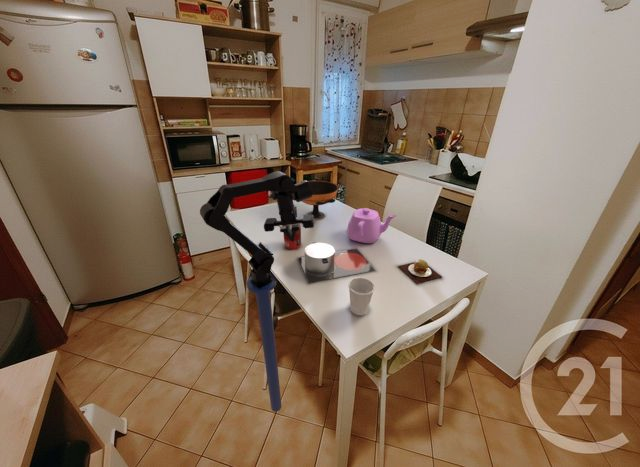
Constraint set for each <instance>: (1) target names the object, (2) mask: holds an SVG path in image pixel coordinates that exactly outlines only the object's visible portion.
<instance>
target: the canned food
mask: <svg viewBox="0 0 640 467" xmlns="http://www.w3.org/2000/svg"><path fill="white" fill-rule="evenodd" d="M291 229H292V225H290V230H291ZM283 243H284V244H283V245H284V247H285V248H286V249H287V250H291V251H293V250H298V249H300V248H301V246H302V224H300V228H299V230H298V231H296V234H295V239H294V242H292V241H291V240H290V239H289V238H288V237H287V236H286V235H285V234H284V233H283Z"/></svg>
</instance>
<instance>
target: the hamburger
mask: <svg viewBox="0 0 640 467" xmlns="http://www.w3.org/2000/svg"><path fill="white" fill-rule="evenodd" d="M397 267H398V269H400V271H402V272H403V273H404V275H406V276H407V277H408V278H409V279H410V280H411V281H413V282H414V283H415V284H416V285H418V284H423V283H426V282H430V281H435V280H438V279H441V278H443V276H442V275H441V274H440V273H439V272H437V271H436V270H434V269H433V268H432V267H431V266H429V264H428V262H427V261H426V260H423V259H417V260H415V261H414V262H411V263H405V264H401V265H398V266H397Z"/></svg>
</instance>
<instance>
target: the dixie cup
mask: <svg viewBox="0 0 640 467" xmlns="http://www.w3.org/2000/svg"><path fill="white" fill-rule="evenodd" d="M347 286H348V292H349V304H350V311H351V312H352V313H353V314H354V315H356V316H364V315H366V314H367V313H368V310H369V308H370V305H371V301H372V298H373V294H374V292H375V289H376V286H375V284H374V282H373V281H371V280H370V279H368V278H365V277H355V278H353V279H351V280H350V281H348V285H347Z"/></svg>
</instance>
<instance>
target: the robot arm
mask: <svg viewBox="0 0 640 467" xmlns="http://www.w3.org/2000/svg"><path fill="white" fill-rule="evenodd" d="M301 181H302V182H301ZM301 181H300V182H297V183H295V184H294V183H293V181H292V178H291V176H290V175H288V174H286V173H284V172H282V171H280V170H276V171H273V172H271V173H268V174H266V175H265V176H263V177H261V178H256V179H250V180H245V181H240V182H235V183H234V182H233V183H229V184H222V185H221V186H219V188H218V190H217V191H216V192H215V193H214V194H212V195H211V196H210V197H209V199H208V200H207V201H206V203H204V204H203V205H201V207H200V208H199V214H200V217H201V218H202V220H203V221H204V223H205V224H206V225H207V226H208V227H210V228H212V229H214V230H216V231H219V232H222V233H224V234H225V235H226V236H228V237H229V238H230V239H231V240H232V241H234V242H235V243H236V244H237V245H238V246H240V247H241V248H242V249H244V250H245V251H246V252H248V253H249V254H250V255H251V258H249V260H248V263H249V265H250V266H251V268H252V269H250V274H251V276H252V280H250V282H251V283H252V284H254V285H255V286H256V287H258V288H259V289H260V288H262V287H264V286H266V285H267V284H269V283H271V282H272V281H273V280H272V279H271V270H272V267H273V264H274V262H275V257H274V253H273V252H272V251H271V250H270V249H269V247H267V246H265V244H264V243H262V242H261V241H260V242H259V243H255V242H254V241H253V240H252V239H251V238H249V236H247V235H246V234H245V233H244V232H242V231H241V230H240V229H239V228H238V227H236V226H235V225H234V224H233V223H232V222H231V221H230V220H229V219H228V218H227V216H225V215H226V214H227V212H228V210H229V208H230V206H231V203H232V202H233V200H234V199H236V198H241V197H247V196H251V195H255V194H260V193H264V192H271V193H270V195H269V198H271V199H272V200H274V201H276V203H277V209H278V216H279V217H280V220H277V217H268V218H266V219H265V221H264V224H263V231H264V232H267V233H268V232H273V231H274V230H275V227H279V229H280V230H279V232H280V233H283V235H284V234H285V235H286V236H287V237H288V238H289V239H290V240H291V241H292V242H294V239H295V234H296V231H298V230H299V228H300V225H302V227H303V228H304V229H313V228H314V227H315V219H314V216H313V215H307V214H303V216H302V218H298V208H297V205H295V204H294V202H296V203H300V202H302V201H303V200H306V199H309V198H311V197H312V196H313V192H312V190H311V188H310V186H309V185H308V182H307V181H308V180H301ZM290 225H292V229H291V230H290Z"/></svg>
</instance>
